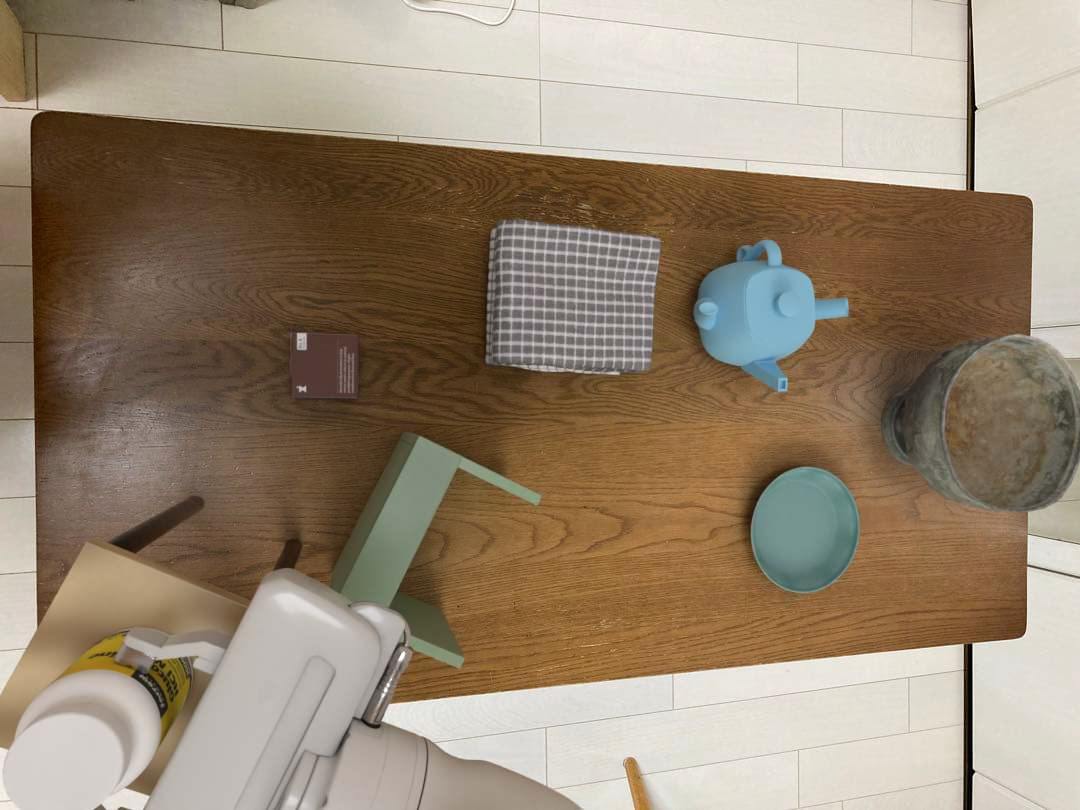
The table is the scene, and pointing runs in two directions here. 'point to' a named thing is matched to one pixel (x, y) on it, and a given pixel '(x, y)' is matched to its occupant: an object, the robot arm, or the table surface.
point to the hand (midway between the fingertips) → (85, 713)
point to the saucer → (805, 529)
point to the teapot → (759, 312)
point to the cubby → (408, 538)
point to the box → (324, 366)
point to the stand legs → (177, 515)
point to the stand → (110, 606)
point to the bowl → (991, 424)
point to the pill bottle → (93, 729)
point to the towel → (570, 298)
